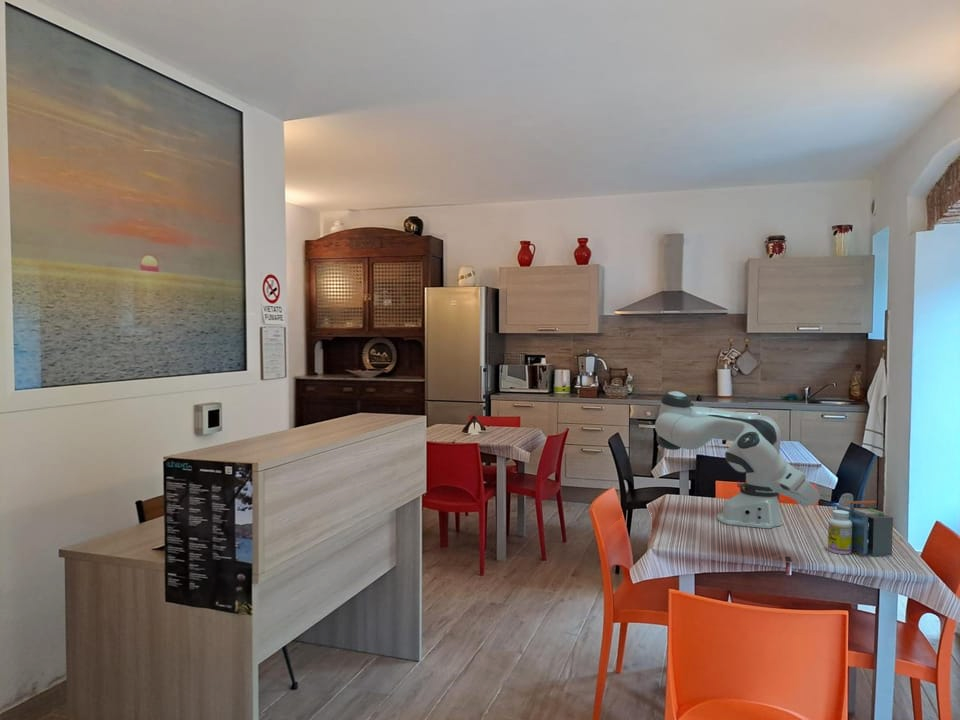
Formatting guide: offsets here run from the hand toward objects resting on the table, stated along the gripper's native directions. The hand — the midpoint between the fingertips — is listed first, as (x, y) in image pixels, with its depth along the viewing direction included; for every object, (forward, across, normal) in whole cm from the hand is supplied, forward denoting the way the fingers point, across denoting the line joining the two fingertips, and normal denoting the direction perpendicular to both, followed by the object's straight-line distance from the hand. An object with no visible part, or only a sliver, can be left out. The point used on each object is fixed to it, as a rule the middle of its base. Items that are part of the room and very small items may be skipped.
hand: (805, 504), depth 211 cm
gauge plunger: (+26, -1, +5) cm, 27 cm away
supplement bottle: (+21, -1, -2) cm, 21 cm away
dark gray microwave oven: (+28, -1, +6) cm, 28 cm away
